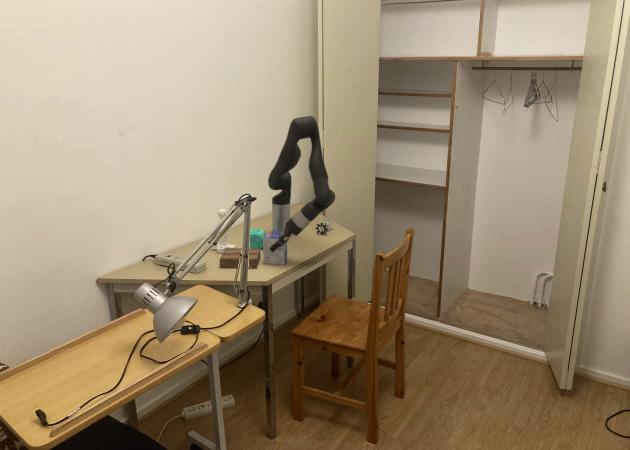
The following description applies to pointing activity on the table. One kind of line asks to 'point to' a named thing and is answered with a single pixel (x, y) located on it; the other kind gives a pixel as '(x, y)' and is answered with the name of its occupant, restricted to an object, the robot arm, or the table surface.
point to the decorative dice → (256, 238)
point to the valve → (324, 225)
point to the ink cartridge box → (279, 254)
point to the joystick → (223, 240)
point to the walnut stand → (233, 254)
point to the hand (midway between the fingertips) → (271, 247)
